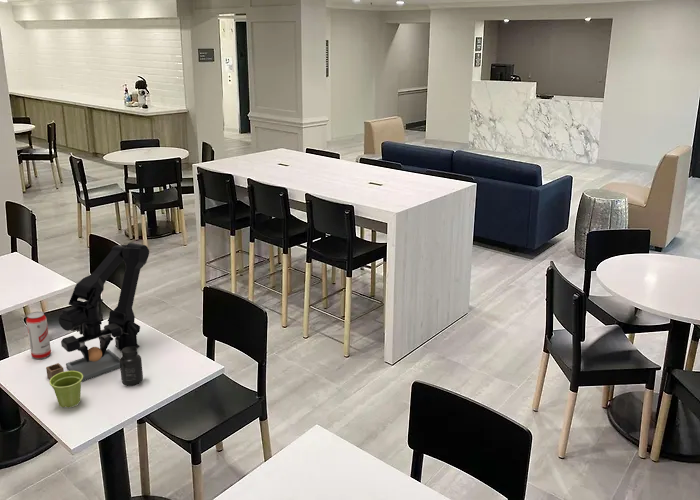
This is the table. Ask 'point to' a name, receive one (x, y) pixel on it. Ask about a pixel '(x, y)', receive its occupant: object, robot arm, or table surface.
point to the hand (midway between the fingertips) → (94, 359)
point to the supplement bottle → (131, 366)
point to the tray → (95, 365)
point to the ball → (94, 354)
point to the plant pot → (67, 387)
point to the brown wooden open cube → (54, 370)
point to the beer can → (38, 335)
